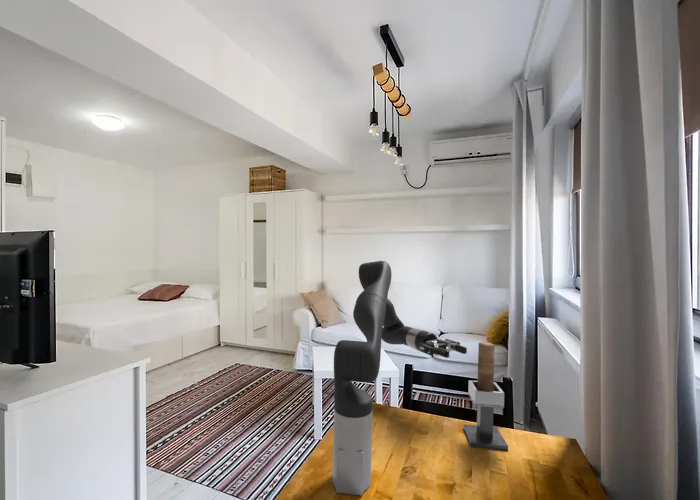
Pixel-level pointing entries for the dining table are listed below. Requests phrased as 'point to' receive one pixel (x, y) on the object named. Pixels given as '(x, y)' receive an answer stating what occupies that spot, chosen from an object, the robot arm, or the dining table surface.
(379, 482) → the dining table surface
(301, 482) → the dining table surface
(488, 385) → the walnut rail post
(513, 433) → the dining table surface
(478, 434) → the stand
